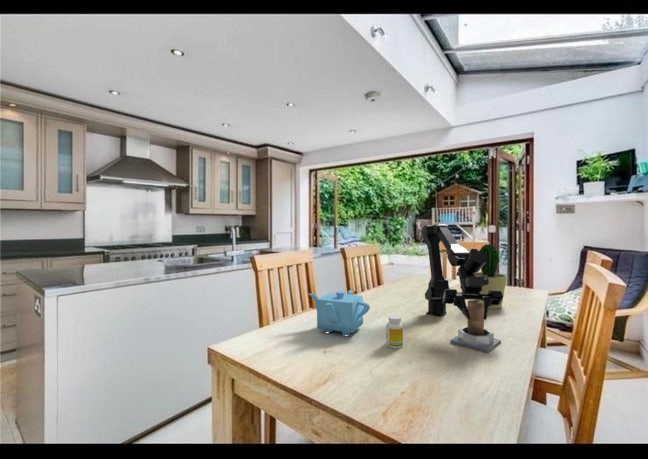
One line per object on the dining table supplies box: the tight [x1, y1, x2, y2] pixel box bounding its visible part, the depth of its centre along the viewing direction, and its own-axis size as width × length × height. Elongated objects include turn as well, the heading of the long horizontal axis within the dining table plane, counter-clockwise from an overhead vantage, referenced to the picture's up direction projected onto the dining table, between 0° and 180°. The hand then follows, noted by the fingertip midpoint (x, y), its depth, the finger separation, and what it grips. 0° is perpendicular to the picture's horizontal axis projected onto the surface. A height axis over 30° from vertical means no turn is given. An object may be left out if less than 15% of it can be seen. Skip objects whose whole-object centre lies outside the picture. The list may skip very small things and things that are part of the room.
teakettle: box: [308, 289, 371, 335], centre depth 127 cm, size 19×19×15 cm
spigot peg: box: [467, 300, 485, 335], centre depth 113 cm, size 5×5×12 cm
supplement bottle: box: [385, 315, 404, 349], centre depth 111 cm, size 5×5×10 cm
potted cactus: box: [475, 243, 508, 310], centre depth 160 cm, size 15×15×30 cm
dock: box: [449, 325, 502, 354], centre depth 113 cm, size 12×12×4 cm
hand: (476, 319), depth 111 cm, fingers closed on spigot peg, 5 cm apart
